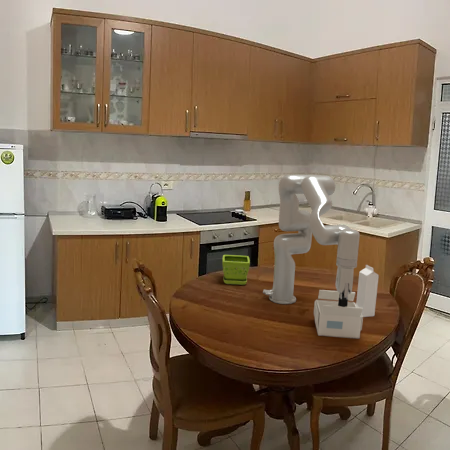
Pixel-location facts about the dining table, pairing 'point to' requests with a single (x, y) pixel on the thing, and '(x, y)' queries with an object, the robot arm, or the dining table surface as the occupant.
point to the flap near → (342, 311)
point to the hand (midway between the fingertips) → (342, 308)
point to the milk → (367, 291)
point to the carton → (336, 322)
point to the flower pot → (230, 269)
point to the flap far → (333, 295)
